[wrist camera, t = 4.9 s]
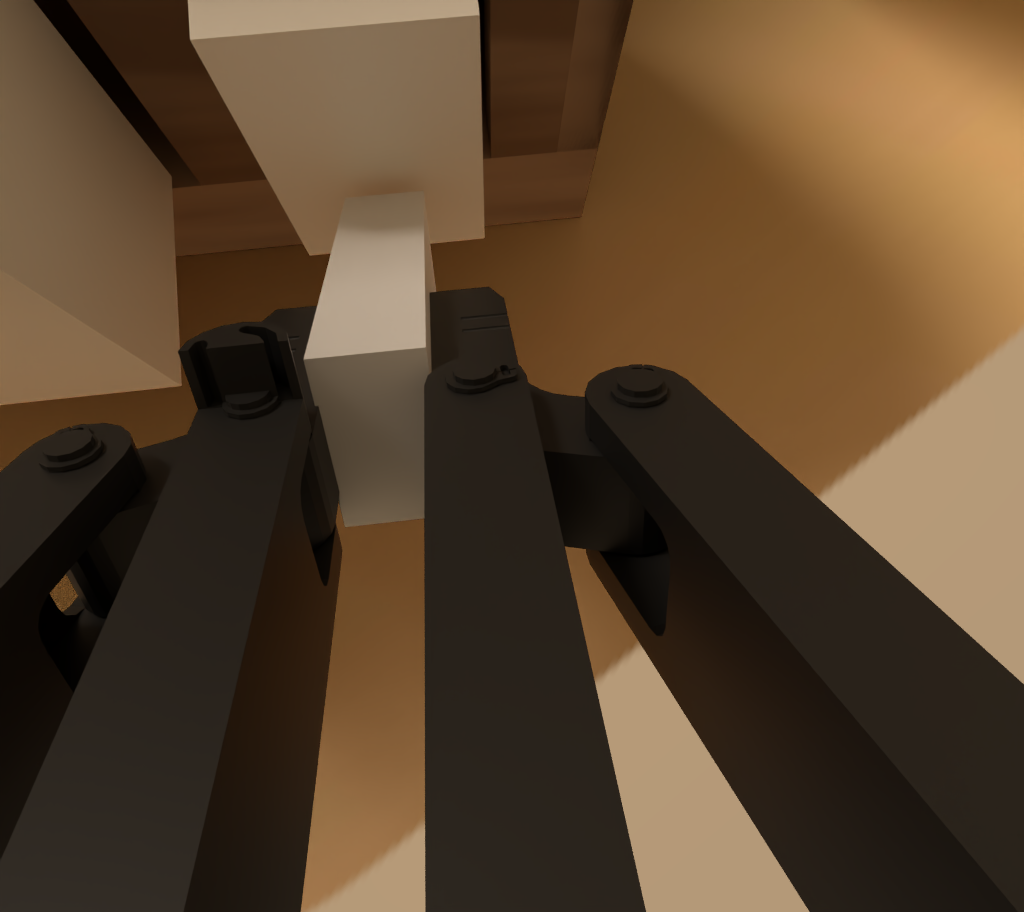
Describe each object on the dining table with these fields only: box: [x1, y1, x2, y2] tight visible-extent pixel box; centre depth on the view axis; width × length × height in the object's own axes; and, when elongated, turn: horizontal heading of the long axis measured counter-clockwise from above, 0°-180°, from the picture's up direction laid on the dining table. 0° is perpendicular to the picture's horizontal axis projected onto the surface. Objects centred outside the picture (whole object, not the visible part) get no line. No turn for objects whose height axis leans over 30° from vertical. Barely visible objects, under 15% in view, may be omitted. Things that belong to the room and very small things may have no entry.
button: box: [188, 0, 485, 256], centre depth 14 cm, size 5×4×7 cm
